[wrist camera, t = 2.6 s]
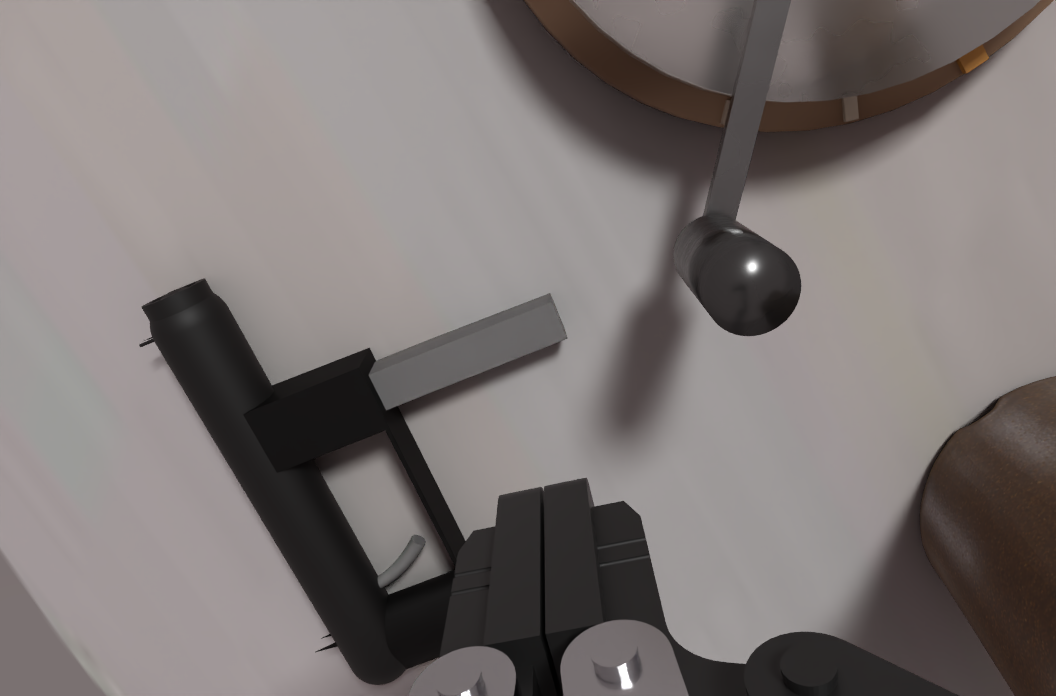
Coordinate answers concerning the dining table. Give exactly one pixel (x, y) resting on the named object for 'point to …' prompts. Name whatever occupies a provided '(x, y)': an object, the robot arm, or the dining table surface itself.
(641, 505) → the dining table surface
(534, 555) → the robot arm
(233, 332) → the door handle
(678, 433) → the dining table surface
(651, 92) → the dial base
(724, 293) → the dial
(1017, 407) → the plant pot
